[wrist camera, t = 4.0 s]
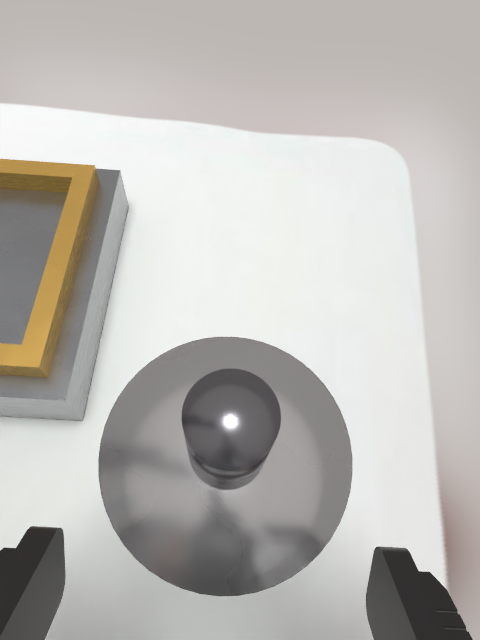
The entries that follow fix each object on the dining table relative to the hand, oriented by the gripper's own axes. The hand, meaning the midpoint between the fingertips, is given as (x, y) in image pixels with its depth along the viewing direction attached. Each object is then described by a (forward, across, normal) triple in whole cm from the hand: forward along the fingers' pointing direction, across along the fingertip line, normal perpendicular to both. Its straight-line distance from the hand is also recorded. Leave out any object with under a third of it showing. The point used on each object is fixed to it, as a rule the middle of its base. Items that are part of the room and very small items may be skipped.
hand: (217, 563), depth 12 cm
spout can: (+8, 0, +5) cm, 9 cm away
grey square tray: (+16, +13, -3) cm, 21 cm away
